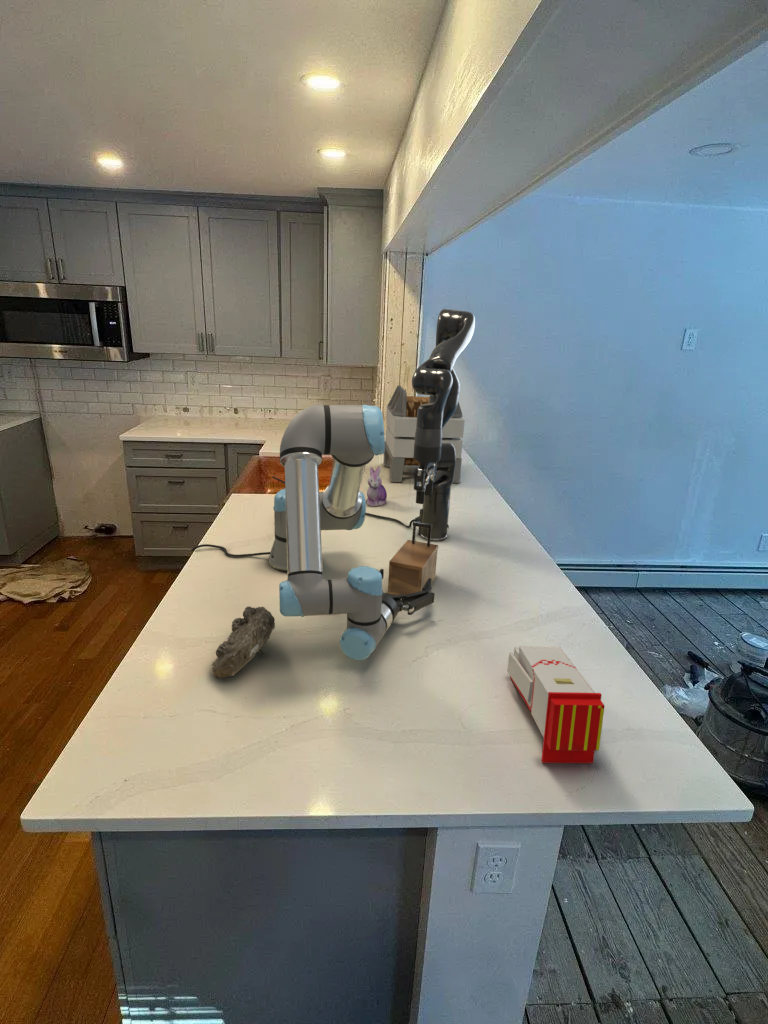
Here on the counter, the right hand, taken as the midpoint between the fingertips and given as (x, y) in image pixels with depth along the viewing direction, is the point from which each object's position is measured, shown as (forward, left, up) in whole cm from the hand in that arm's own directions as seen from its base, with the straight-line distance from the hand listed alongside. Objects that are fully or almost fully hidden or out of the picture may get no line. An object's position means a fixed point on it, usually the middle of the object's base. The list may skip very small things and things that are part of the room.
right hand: (424, 499), depth 161 cm
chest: (+2, -6, -24) cm, 25 cm away
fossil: (-9, -59, -24) cm, 64 cm away
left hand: (+4, -14, -18) cm, 23 cm away
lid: (+2, -6, -15) cm, 16 cm away
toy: (+52, -36, -24) cm, 68 cm away
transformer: (-60, +96, -24) cm, 115 cm away
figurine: (-49, +45, -24) cm, 71 cm away
